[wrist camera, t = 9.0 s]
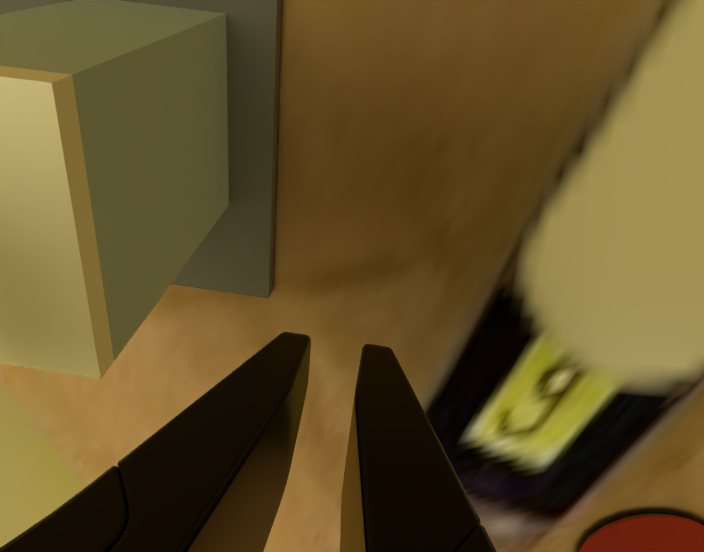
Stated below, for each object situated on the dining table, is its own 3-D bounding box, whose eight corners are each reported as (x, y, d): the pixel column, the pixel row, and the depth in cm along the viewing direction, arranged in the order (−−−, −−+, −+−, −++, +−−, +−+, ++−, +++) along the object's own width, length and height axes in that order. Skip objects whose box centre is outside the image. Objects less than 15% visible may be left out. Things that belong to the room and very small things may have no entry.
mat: (285, -125, 15) (280, -128, 15) (272, 289, 22) (268, 298, 22) (-284, -188, 16) (-307, -192, 16) (-130, 231, 23) (-142, 238, 22)
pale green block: (225, 13, 17) (51, 82, 9) (228, 204, 20) (100, 379, 12) (90, -4, 17) (-194, 51, 9) (114, 189, 20) (-84, 350, 12)
